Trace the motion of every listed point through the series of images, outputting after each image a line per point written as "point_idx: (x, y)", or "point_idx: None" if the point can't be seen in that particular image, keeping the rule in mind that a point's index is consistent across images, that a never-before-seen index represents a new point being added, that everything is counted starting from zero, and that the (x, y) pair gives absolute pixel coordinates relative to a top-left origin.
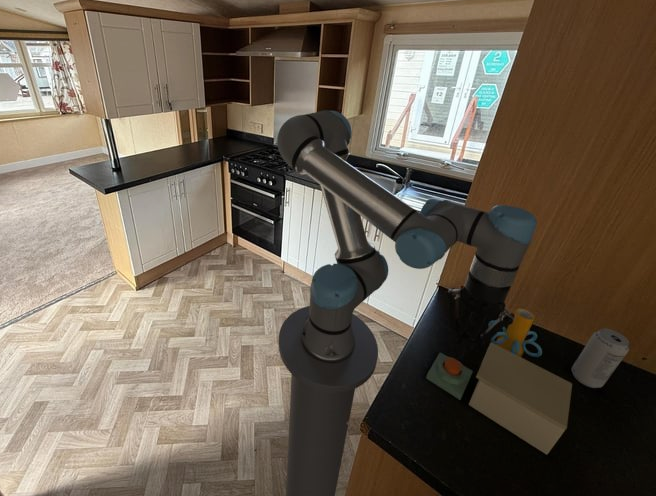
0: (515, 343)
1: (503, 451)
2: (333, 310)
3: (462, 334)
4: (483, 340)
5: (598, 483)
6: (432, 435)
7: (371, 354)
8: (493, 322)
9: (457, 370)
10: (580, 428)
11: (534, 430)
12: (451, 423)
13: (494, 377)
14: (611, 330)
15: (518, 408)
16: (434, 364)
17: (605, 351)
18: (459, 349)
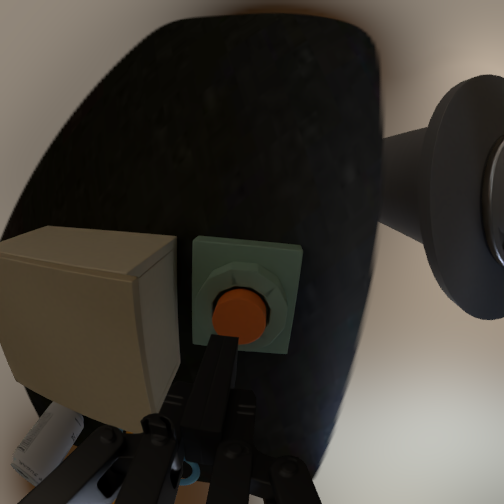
0: None
1: (95, 167)
2: None
3: (220, 450)
4: (100, 449)
5: (9, 231)
6: (234, 79)
7: (445, 227)
8: (188, 480)
9: (220, 305)
10: None
11: (41, 237)
12: (200, 145)
13: (90, 311)
14: (35, 485)
15: (45, 252)
16: (291, 302)
17: (26, 453)
18: (223, 368)
